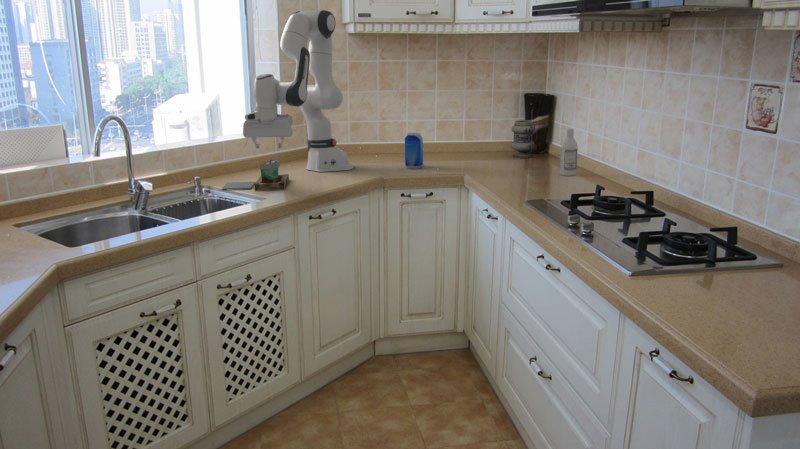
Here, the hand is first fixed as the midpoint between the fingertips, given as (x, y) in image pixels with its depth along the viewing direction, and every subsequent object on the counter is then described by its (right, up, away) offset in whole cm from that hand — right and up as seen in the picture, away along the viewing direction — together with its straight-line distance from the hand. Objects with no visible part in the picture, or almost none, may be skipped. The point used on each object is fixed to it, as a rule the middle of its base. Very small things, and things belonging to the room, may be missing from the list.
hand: (269, 147), depth 269 cm
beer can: (+62, -5, +35) cm, 71 cm away
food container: (+1, -15, +5) cm, 16 cm away
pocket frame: (0, -15, +5) cm, 16 cm away
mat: (-13, -16, +3) cm, 21 cm away
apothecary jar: (+117, +2, +57) cm, 130 cm away
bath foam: (+129, -10, +13) cm, 130 cm away
